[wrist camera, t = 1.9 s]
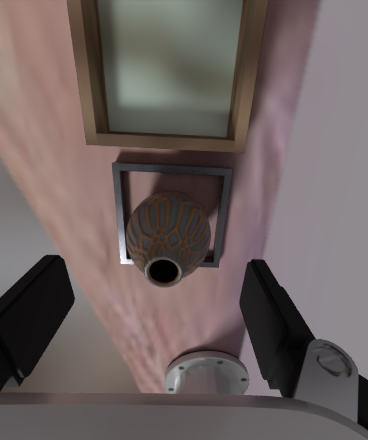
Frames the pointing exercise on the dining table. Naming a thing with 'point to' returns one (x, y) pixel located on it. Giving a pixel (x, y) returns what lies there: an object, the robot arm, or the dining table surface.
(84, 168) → the dining table surface
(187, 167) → the trivet frame
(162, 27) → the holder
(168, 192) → the vase
